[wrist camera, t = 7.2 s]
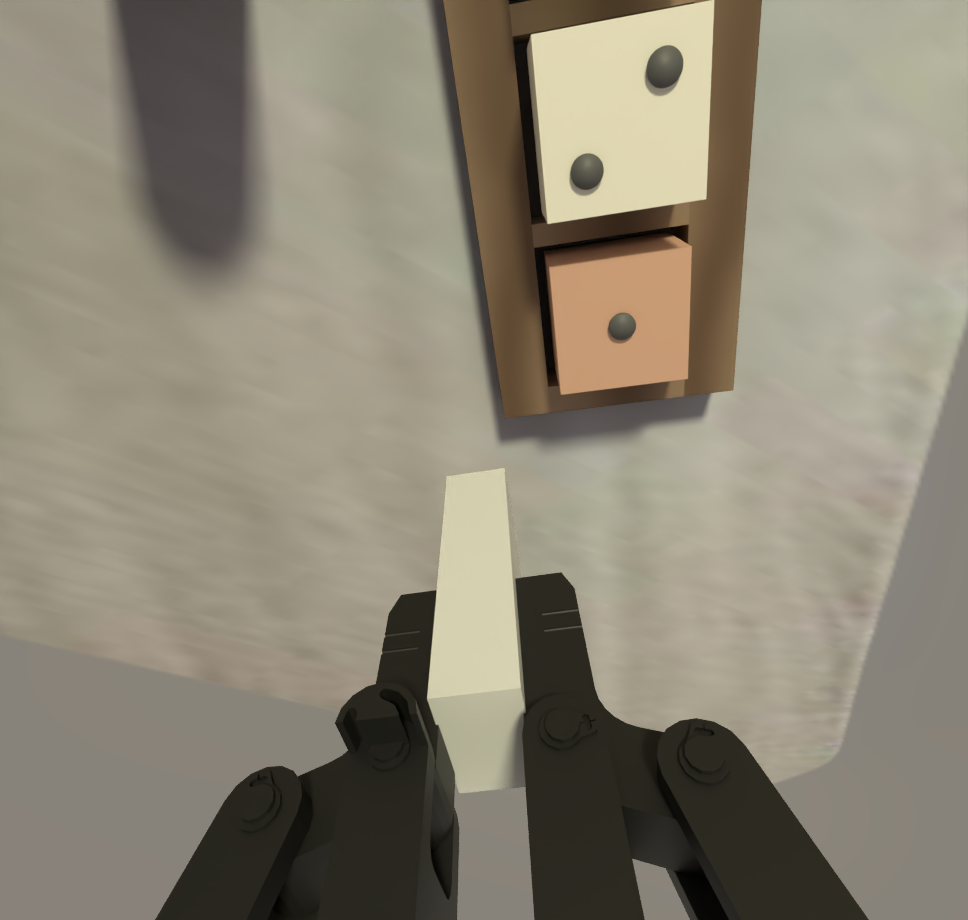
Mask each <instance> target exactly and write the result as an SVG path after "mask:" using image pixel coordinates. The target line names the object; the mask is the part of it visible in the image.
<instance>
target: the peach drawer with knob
mask: <svg viewBox="0 0 968 920" xmlns="http://www.w3.org/2000/svg"><path fill="white" fill-rule="evenodd" d="M691 258H692V246H690V245H688V244H687V243H685V242H684V241H682V240H680V239H679V238H677V237H675V236H674V235H672V234H670V233H669V232H665V233H658V234H651V235H645V236H638V237H632V238H625V239H619V240H612V241H605V242H599V243H592V244H586V245H579V246H572V247H566V248H559V249H553V250H546V251H544V260H545V271H546V282H547V292H548V303H549V313H550V324H551V335H552V345H553V356H554V366H555V371H556V375H557V380H558V384H559V389H560V393H561V395H564V394H572V393H579V392H587V391H595V390H603V389H611V388H619V387H627V386H635V385H643V384H651V383H659V382H667V381H675V380H683V379H688V358H689V325H690V292H691Z"/></svg>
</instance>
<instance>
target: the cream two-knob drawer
mask: <svg viewBox="0 0 968 920" xmlns="http://www.w3.org/2000/svg"><path fill="white" fill-rule="evenodd" d="M713 21H714V0H710V1H705V2H699V3H694V4H689V5H684V6H678V7H673V8H668V9H663V10H657V11H652V12H647V13H642V14H636V15H631V16H626V17H621V18H615V19H610V20H605V21H599V22H594V23H589V24H584V25H578V26H573V27H568V28H563V29H557V30H552V31H547V32H542V33H536V34H531V36H530V39H529V43H528V46H527V59H528V70H529V81H530V91H531V102H532V113H533V124H534V135H535V145H536V156H537V167H538V178H539V189H540V200H541V210H542V213H543V215H544V217H545V220H546V222H547V224H551V223H557V222H564V221H570V220H577V219H583V218H589V217H596V216H602V215H609V214H615V213H621V212H628V211H634V210H641V209H647V208H653V207H660V206H666V205H673V204H679V203H685V202H692V201H698V200H705V199H706V195H707V170H708V145H709V120H710V96H711V71H712V46H713Z"/></svg>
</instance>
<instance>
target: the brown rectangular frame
mask: <svg viewBox="0 0 968 920" xmlns="http://www.w3.org/2000/svg"><path fill="white" fill-rule="evenodd" d="M705 1H710V0H530V1H525V2H520V3H515V4H510V5H509V0H443V3H444V9H445V16H446V23H447V30H448V37H449V43H450V50H451V57H452V64H453V71H454V77H455V84H456V91H457V98H458V105H459V111H460V118H461V125H462V132H463V139H464V145H465V152H466V159H467V166H468V173H469V179H470V186H471V193H472V200H473V207H474V213H475V220H476V227H477V234H478V241H479V247H480V254H481V261H482V268H483V275H484V281H485V288H486V295H487V302H488V309H489V315H490V322H491V329H492V336H493V343H494V349H495V356H496V363H497V370H498V377H499V383H500V390H501V397H502V404H503V411H504V417H505V418H512V417H520V416H528V415H536V414H544V413H552V412H561V411H569V410H577V409H585V408H593V407H601V406H609V405H617V404H626V403H634V402H642V401H650V400H658V399H666V398H674V397H682V396H691V395H699V394H707V393H715V392H723V391H731V390H733V387H734V374H735V360H736V346H737V333H738V319H739V305H740V292H741V278H742V264H743V251H744V237H745V223H746V210H747V196H748V182H749V169H750V155H751V141H752V128H753V114H754V100H755V87H756V73H757V60H758V46H759V32H760V19H761V5H762V0H714V21H713V46H712V71H711V96H710V120H709V145H708V170H707V195H706V199H705V200H698V201H692V202H685V203H679V204H673V205H666V206H660V207H653V208H647V209H641V210H634V211H628V212H621V213H615V214H609V215H602V216H596V217H589V218H583V219H577V220H570V221H564V222H557V223H551V224H547V222H546V220H545V217H544V216H538V217H531V213H530V203H529V193H528V184H527V174H526V164H525V154H524V144H523V134H522V124H521V115H520V105H519V95H518V85H517V75H516V65H515V56H514V46H513V44H519V43H524V42H529V39H530V36H531V34H536V33H542V32H547V31H552V30H557V29H563V28H568V27H573V26H578V25H584V24H589V23H594V22H599V21H605V20H610V19H615V18H621V17H626V16H631V15H636V14H642V13H647V12H652V11H657V10H663V9H668V8H673V7H678V6H684V5H689V4H694V3H699V2H705ZM668 227H674V236H675V237H677V238H679V239H680V240H682V241H684V242H685V243H687V244H688V245H690V246H692V258H691V292H690V325H689V358H688V379H683V380H675V381H667V382H659V383H651V384H643V385H635V386H627V387H619V388H611V389H603V390H595V391H587V392H579V393H572V394H564V395H561V393H560V389H559V384H558V380H557V375H556V371H555V368H554V369H546V361H545V351H544V341H543V331H542V321H541V311H540V302H539V292H538V282H537V272H536V262H535V252H534V248H537V247H543V246H550V245H556V244H563V243H570V242H576V241H583V240H589V239H596V238H602V237H609V236H615V235H622V234H629V233H635V232H642V231H648V230H655V229H661V228H668Z"/></svg>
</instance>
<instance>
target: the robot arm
mask: <svg viewBox="0 0 968 920" xmlns="http://www.w3.org/2000/svg"><path fill="white" fill-rule="evenodd" d="M385 636H386V637H385V638H384V643H383V648H382V655H381V659H380V665H379V670H378V676H377V681H376V684H375V685H371V686H368V687H366V688H364V689H362V690H361V691H359V692H358V693H356V694H355V695H353V696H352V697H351V698H350V699H349V700H348V702H347V703H346V704H345V705H344V706H343V707H342V708H341V710H340V713H339V715H338V717H337V720H336V722H335V724H336V726H337V728H338V730H339V732H340V734H341V736H342V738H343V740H344V743H345V745H346V746H347V749H348V751H347V752H346V753H345V754H343V755H342V756H341V757H339V758H337V759H335V760H333V761H332V762H330V763H328V764H325V765H323V766H321V767H318V768H316V769H314V770H312V771H309V772H307V773H305V774H302V775H300V776H298V777H297V775H296V774H295V773H294V771H292V770H290V769H288V768H285V767H283V766H276V767H266V768H264V769H262V770H259V771H257V772H255V773H252V774H251V775H249V776H248V777H247V778H246V779H244V780H243V781H242V782H241V783H240V784H238V785H237V786H236V787H235V788H234V790H233V791H232V792H231V794H230V795H229V796H228V797H227V799H226V800H225V801H224V803H223V805H222V807H221V808H220V810H219V812H218V813H217V815H216V817H215V819H214V820H213V822H212V824H211V826H210V827H209V829H208V830H207V832H206V834H205V836H204V837H203V839H202V841H201V842H200V844H199V846H198V848H197V849H196V851H195V853H194V855H193V856H192V858H191V860H190V861H189V863H188V865H187V866H186V869H185V870H184V872H183V873H182V875H181V877H180V879H179V880H178V882H177V883H176V885H175V887H174V889H173V890H172V892H171V894H170V895H169V897H168V899H167V901H166V902H165V904H164V906H163V907H162V909H161V911H160V913H159V914H158V916H157V918H156V919H155V920H457V895H458V855H459V825H458V818H457V814H456V811H455V808H454V790H455V782H456V784H457V788H458V791H459V793H469V792H479V791H489V790H499V789H508V788H518V787H526V800H527V815H528V830H529V844H530V858H531V873H532V888H533V904H534V918H535V920H644V915H643V910H642V905H641V900H640V895H639V890H638V886H637V881H636V876H635V871H634V866H633V861H632V859H636V860H640V861H643V862H646V863H650V864H653V865H657V866H660V867H664V868H666V870H667V872H668V874H669V876H670V878H671V880H672V882H673V884H674V886H675V889H676V891H677V893H678V895H679V897H680V899H681V901H682V903H683V905H684V908H685V909H686V912H687V914H688V916H689V918H690V920H868V918H867V917H866V915H865V914H864V912H863V911H862V910H861V908H860V907H859V905H858V904H857V903H856V901H855V900H854V898H853V897H852V896H851V894H850V893H849V891H848V890H847V889H846V887H845V886H844V884H843V883H842V881H841V880H840V879H839V877H838V876H837V875H836V873H835V872H834V870H833V869H832V867H831V866H830V865H829V863H828V862H827V860H826V859H825V857H824V856H823V855H822V853H821V852H820V850H819V849H818V848H817V846H816V845H815V844H814V842H813V841H812V839H811V838H810V836H809V835H808V834H807V832H806V831H805V829H804V828H803V827H802V825H801V824H800V822H799V821H798V819H797V818H796V817H795V815H794V814H793V812H792V811H791V810H790V808H789V807H788V805H787V804H786V802H785V801H784V800H783V798H782V797H781V796H780V794H779V793H778V791H777V790H776V788H775V787H774V785H773V784H772V783H771V781H770V780H769V778H768V777H767V776H766V774H765V773H764V771H763V770H762V769H761V767H760V766H759V764H758V763H757V762H756V760H755V759H754V757H753V756H752V754H751V753H750V752H749V750H748V749H747V747H746V746H745V745H744V744H743V743H742V742H741V741H740V740H739V739H738V738H737V736H736V735H735V734H734V733H733V732H732V731H730V730H728V729H727V728H725V727H723V726H721V725H719V724H717V723H715V722H712V721H707V720H702V719H697V718H696V719H689V720H682V721H679V722H677V723H675V724H674V725H672V726H670V727H669V728H667V729H666V731H665V732H660V731H655V730H650V729H645V728H640V727H636V726H633V725H630V724H627V723H625V722H623V721H621V720H619V719H618V718H616V717H614V716H613V715H612V714H611V713H610V712H609V711H607V710H606V709H605V708H604V706H603V705H602V703H601V702H600V700H599V699H598V696H597V693H596V690H595V687H594V682H593V677H592V672H591V667H590V662H589V657H588V652H587V648H586V643H585V638H584V633H583V628H582V623H581V618H580V613H579V609H578V604H577V599H576V594H575V589H574V587H573V586H572V585H571V584H570V582H569V581H568V580H567V579H566V578H565V576H564V575H563V574H562V573H553V574H546V575H538V576H531V577H523V578H522V577H521V567H520V556H519V547H518V542H517V536H516V531H515V525H514V519H513V514H512V508H511V502H510V497H509V491H508V485H507V480H506V474H505V468H501V469H495V470H488V471H481V472H474V473H467V474H461V475H454V476H447V482H446V494H445V505H444V516H443V527H442V538H441V549H440V560H439V571H438V582H437V590H435V591H428V592H420V593H413V594H405V595H401V596H400V598H399V599H398V601H397V602H396V604H395V605H394V607H393V608H392V610H391V611H390V613H389V616H388V621H387V627H386V632H385Z"/></svg>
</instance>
